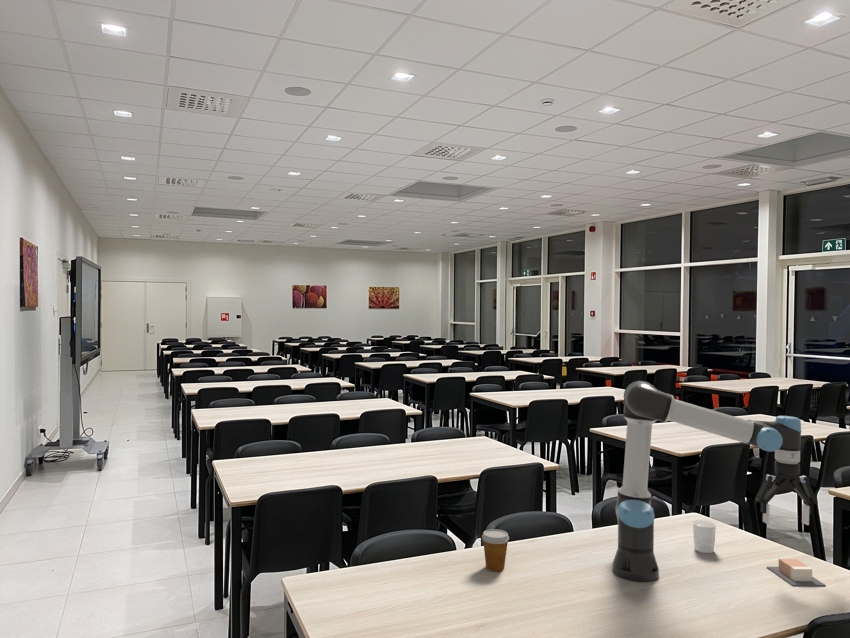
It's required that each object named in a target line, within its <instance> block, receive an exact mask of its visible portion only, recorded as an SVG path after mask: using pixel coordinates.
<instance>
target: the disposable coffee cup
mask: <svg viewBox="0 0 850 638" xmlns="http://www.w3.org/2000/svg"><path fill="white" fill-rule="evenodd" d="M481 539H482V541H483V542H482V543H483V549H484V550H483V551H484V561H485V568H486V569H487V570H488V569H489V571H490V570H491V571H490V572H502V571H503V569H504V570H505V565H506V558H507V552H508V551H507V549H508V542H509V541H510V536H509V533H508V532H507V531H506V530H502V529H487V530H484V531H483V533H482V535H481ZM501 570H502V571H501Z"/></svg>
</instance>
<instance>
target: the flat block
mask: <svg viewBox="0 0 850 638" xmlns="http://www.w3.org/2000/svg"><path fill="white" fill-rule="evenodd" d="M778 567H779V571H781V572H782V573H783V574H785V575H786V576H788V577H789V578H791V579H792V580H794V581H812V577H813V568H811V567H809V566H808V565H806V564H805V563H803V562H802V561H800V560H798V559H797V558H778Z"/></svg>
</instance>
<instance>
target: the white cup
mask: <svg viewBox="0 0 850 638" xmlns="http://www.w3.org/2000/svg"><path fill="white" fill-rule="evenodd" d="M716 527H717V525H716V524H715V523H713V522H712V521H707V520H694V521H693V522H692V529H693V530H692V531H693V542H694V543H693V544H694V548H693V549H694V550H695V551H697V552H699V553H703V554H713V553H714V551H715V542H716V530H717V528H716Z"/></svg>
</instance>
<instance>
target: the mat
mask: <svg viewBox="0 0 850 638" xmlns="http://www.w3.org/2000/svg"><path fill="white" fill-rule="evenodd" d="M766 569H768V570H769V571H771V572H772V573H773V574H775V575H776V576H777V577H779V578H780V579H782V580H783V581H784V582H785V583H788V584H789V585H790V586H792V587H826V586H827V585H826V584H825V583H823V582H822V581H820V580H818V579H817V578H815V577H814V576H812V581H794V580H792V579H791V578H789V577H788V576H786V575H785V574H783V573H782V572H781V571H779V566H766Z"/></svg>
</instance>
